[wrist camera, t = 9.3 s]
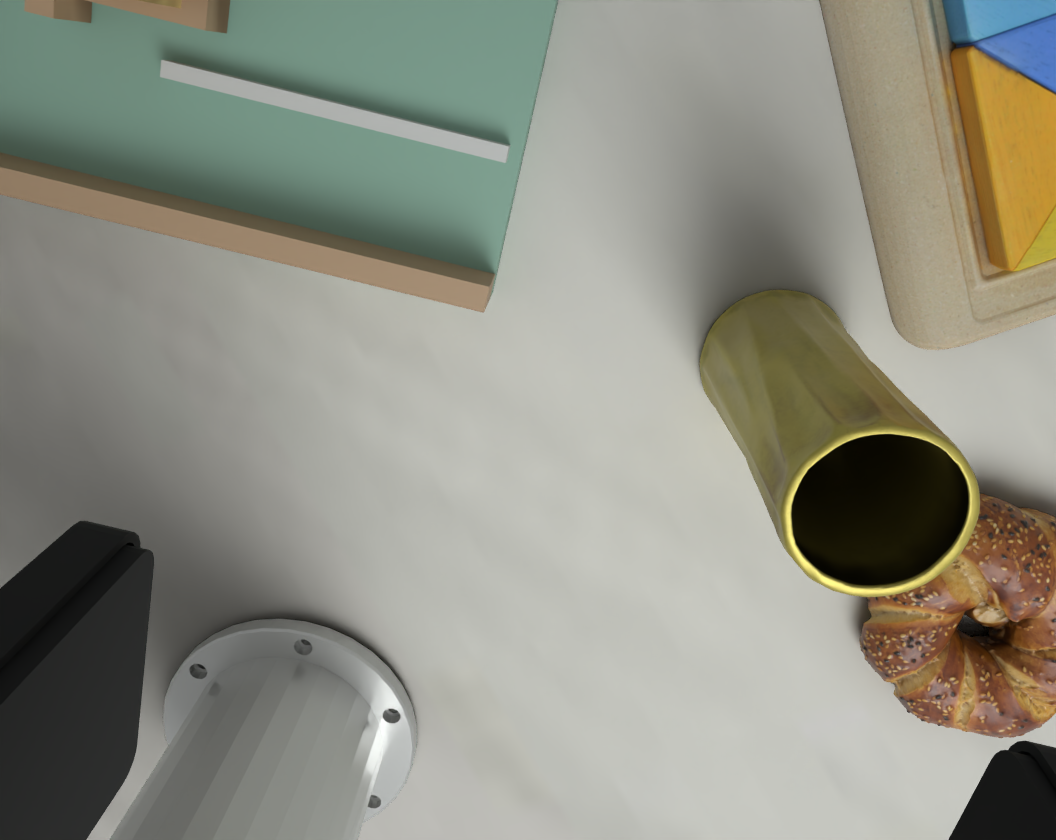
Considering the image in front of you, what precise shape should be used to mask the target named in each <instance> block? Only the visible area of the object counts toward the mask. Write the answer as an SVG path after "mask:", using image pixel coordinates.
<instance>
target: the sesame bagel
mask: <svg viewBox="0 0 1056 840" xmlns="http://www.w3.org/2000/svg"><path fill="white" fill-rule="evenodd" d="M867 598H868V599H867V602H868V609H869V611H870V612H871V615H872V617H871V618H870V620H868V621H867V622H865V623H864V624H863V628H862V633H861V637H860V645H861V646H860V647H861V651H862V652H863V653H864V655H865V660H866V661H868V663H869V664H870V665H871V667H872V668H873V669H874V670H875V672H877V673H878V674H879V675H880V676H881V677H882V679H883V680H884V681H886V682H891V683H893V684H894V685H895V690H894V695H895V696H896V697H897V698H898V700H899V701H900V702H901V703H902V705H903V706H904V707H905V708H906V709H907V712H908V713H910V712H911V713H912V714H914V715H915V716H917V718H920V719H921V721H926V722H928V723H934V724H937V725H938V726H940V725H942V726H945V727H947V728H950V727H951V728H956V729H961V730H962V731H966V732H974V733H978V734H982V735H986V736H992V737H998V738H1003V737H1016V736H1022V735H1024V734H1025V733H1027V732H1029V731H1032V730H1034V729H1036V728H1040V727H1041V726H1042V724H1044V723H1045V722H1047V721H1048V720H1049V719H1050V718H1051V717H1052V716H1053V715H1054V714H1055V713H1056V518H1055V516H1053V515H1052V516H1051V515H1048V514H1047V513H1043V512H1040V511H1038V510H1033V509H1029V508H1017V507H1015V506H1014V505H1012V504H1010V503H1008V502H1005V501H1003V500H1001V499H997V498H996V497H991V496H987V495H985V494H980V511H979V516H978V520H977V523H976V526H975V528H974V531H973V533H972V535H971V537H970V539H969V541H968V543H967V545H966V546H965V548H964V549H963V551H962V552H961V554H960V555H959V556H958V557H957V558H956V560H955V561H954V562H953V563H952V564H951V565H950V566H949V567H947V568H946V569H945V570H944V571H943V572H942V573H941V574H939V575H938V576H937V577H935V578H934V579H933V580H931V581H930V582H928V583H926V584H924V585H922V586H920V587H918V588H915V589H912V590H909V591H906V592H903V593H900V594H895V595H889V596H880V597H867ZM963 615H964V616H965V615H967V616H968V617H970V618H971V619H973V620H974V621H975V622H976V623H980V624H982V625H983V626H988V627H989V631H988V634H989V635H988V637H986V636H977V637H970V636H968V635H967V634H965V633H963V632H961V631H960V630H959V629H957V626H958V624H959V622H960V621H961V619H962V617H963Z"/></svg>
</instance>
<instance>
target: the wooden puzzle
mask: <svg viewBox="0 0 1056 840" xmlns="http://www.w3.org/2000/svg"><path fill="white" fill-rule="evenodd" d="M819 1H820V5H821V10H822V14H823V19H824V23H825V28H826V32H827V37H828V41H829V46H830V50H831V55H832V59H833V64H834V68H835V73H836V77H837V82H838V86H839V91H840V95H841V100H842V104H843V109H844V113H845V118H846V122H847V127H848V131H849V136H850V140H851V145H852V149H853V153H854V158H855V162H856V167H857V171H858V176H859V180H860V185H861V189H862V193H863V198H864V202H865V207H866V211H867V216H868V220H869V224H870V229H871V233H872V238H873V242H874V246H875V251H876V255H877V260H878V264H879V269H880V273H881V277H882V282H883V286H884V290H885V294H886V298H887V303H888V307H889V311H890V315H891V319H892V322H893V324H894V327H895V328H896V330H897V331H898V333H899V334H900V335H901V336H902V337H903V338H904V339H905V340H906V341H908V342H909V343H911V344H912V345H914V346H916V347H919V348H923V349H931V350H939V349H949V348H954V347H959V346H962V345H966V344H969V343H972V342H975V341H978V340H981V339H984V338H987V337H990V336H992V335H995V334H998V333H1001V332H1004V331H1007V330H1010V329H1013V328H1016V327H1019V326H1022V325H1025V324H1028V323H1031V322H1034V321H1037V320H1040V319H1043V318H1046V317H1049V316H1052V315H1055V314H1056V0H819Z"/></svg>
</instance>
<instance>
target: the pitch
mask: <svg viewBox="0 0 1056 840" xmlns="http://www.w3.org/2000/svg"><path fill="white" fill-rule="evenodd" d="M557 4H558V0H230V8H229V18H228V28H227V33H220V32H213V31H205V30H201V29H197V28H193V27H189V26H185V25H181V24H177V23H174V22H170V21H166V20H162V19H158V18H154V17H150V16H146V15H142V14H138V13H134V12H130V11H126V10H122V9H118V8H114V7H110V6H106V5H102V4H98V3H94V2H92V15H91V23H86V22H78V21H70V20H62V19H54V18H50V17H46V16H42V15H38V14H34V13H30V12H26V11H24V7H25V0H0V194H1V195H5V196H9V197H13V198H17V199H21V200H25V201H29V202H33V203H38V204H42V205H46V206H50V207H54V208H58V209H62V210H66V211H70V212H74V213H78V214H83V215H87V216H91V217H95V218H99V219H103V220H107V221H111V222H115V223H119V224H123V225H128V226H132V227H136V228H140V229H144V230H148V231H152V232H156V233H160V234H164V235H168V236H173V237H177V238H181V239H185V240H189V241H193V242H197V243H201V244H205V245H209V246H213V247H218V248H222V249H226V250H230V251H234V252H238V253H242V254H246V255H250V256H254V257H258V258H263V259H267V260H271V261H275V262H279V263H283V264H287V265H291V266H295V267H299V268H303V269H308V270H312V271H316V272H320V273H324V274H328V275H332V276H336V277H340V278H344V279H348V280H353V281H357V282H361V283H365V284H369V285H373V286H377V287H381V288H385V289H389V290H393V291H398V292H402V293H406V294H410V295H414V296H418V297H422V298H426V299H430V300H434V301H438V302H443V303H447V304H451V305H455V306H459V307H463V308H467V309H471V310H475V311H479V312H484V311H485V309H486V306H487V304H488V302H489V299H490V297H491V295H492V293H493V289H494V284H495V280H496V276H497V271H498V267H499V262H500V258H501V253H502V249H503V244H504V240H505V235H506V231H507V227H508V222H509V218H510V213H511V209H512V204H513V200H514V195H515V191H516V186H517V182H518V178H519V173H520V169H521V164H522V160H523V155H524V151H525V146H526V142H527V137H528V133H529V128H530V124H531V120H532V115H533V111H534V106H535V102H536V97H537V93H538V88H539V84H540V79H541V75H542V71H543V66H544V62H545V57H546V53H547V48H548V44H549V39H550V35H551V30H552V26H553V22H554V17H555V13H556V8H557Z"/></svg>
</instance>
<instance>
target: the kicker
mask: <svg viewBox="0 0 1056 840" xmlns="http://www.w3.org/2000/svg"><path fill="white" fill-rule="evenodd" d="M92 2H94V3H98V4H102V5H106V6H110V7H114V8H118V9H122V10H126V11H130V12H134V13H138V14H142V15H146V16H150V17H154V18H158V19H162V20H166V21H170V22H174V23H177V24H181V25H185V26H189V27H193V28H197V29H201V30H205V31H213V32H220V33H227V28H228V18H229V8H230V0H25V7H24V11H26V12H30V13H34V14H38V15H42V16H46V17H50V18H54V19H62V20H70V21H78V22H86V23H91V15H92Z"/></svg>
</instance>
